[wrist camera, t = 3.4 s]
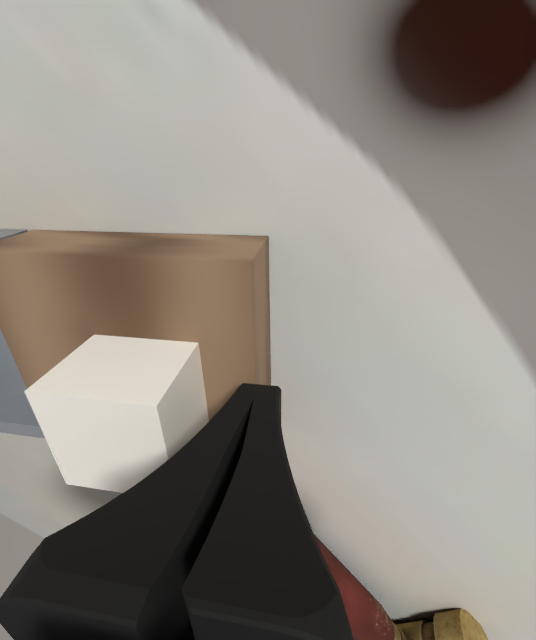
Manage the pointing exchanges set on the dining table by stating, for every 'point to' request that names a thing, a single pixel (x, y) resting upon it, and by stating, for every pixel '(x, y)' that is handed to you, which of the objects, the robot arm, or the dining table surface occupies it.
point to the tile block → (120, 408)
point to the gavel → (375, 625)
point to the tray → (14, 387)
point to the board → (139, 299)
